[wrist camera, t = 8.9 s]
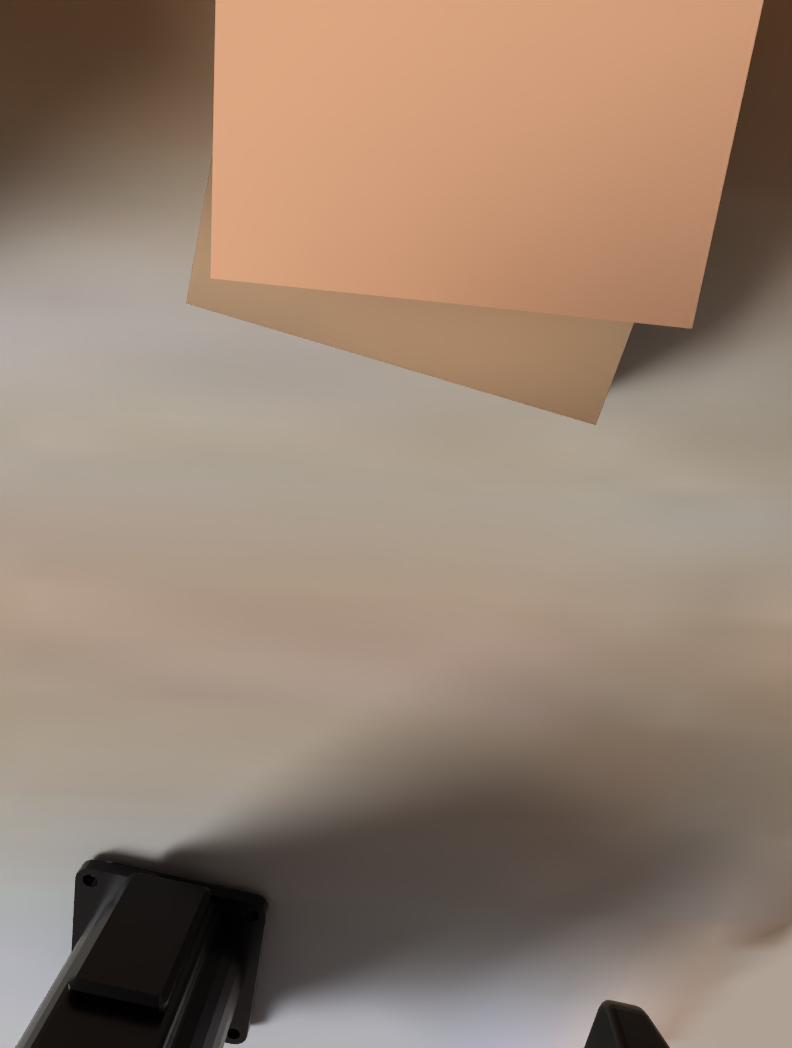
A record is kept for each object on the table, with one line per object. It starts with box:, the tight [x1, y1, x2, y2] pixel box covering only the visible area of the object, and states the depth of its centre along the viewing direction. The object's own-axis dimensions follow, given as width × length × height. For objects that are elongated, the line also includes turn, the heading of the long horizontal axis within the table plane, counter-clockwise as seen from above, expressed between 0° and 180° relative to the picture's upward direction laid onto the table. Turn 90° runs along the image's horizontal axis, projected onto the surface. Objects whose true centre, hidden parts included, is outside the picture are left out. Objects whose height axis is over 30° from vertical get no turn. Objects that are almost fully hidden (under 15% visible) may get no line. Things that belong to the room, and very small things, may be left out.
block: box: [186, 155, 634, 425], centre depth 16 cm, size 9×9×4 cm
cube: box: [210, 0, 764, 329], centre depth 11 cm, size 6×6×6 cm
